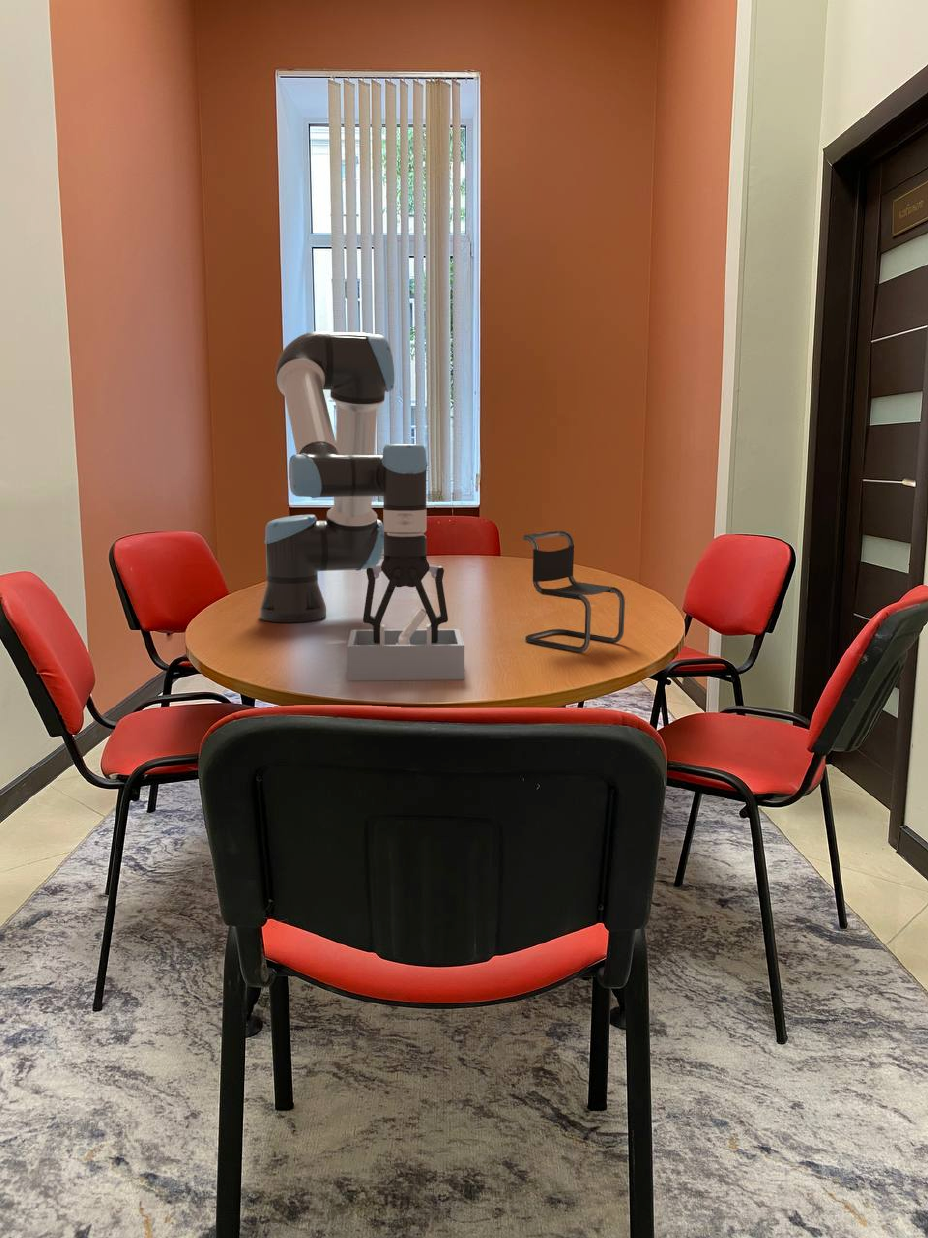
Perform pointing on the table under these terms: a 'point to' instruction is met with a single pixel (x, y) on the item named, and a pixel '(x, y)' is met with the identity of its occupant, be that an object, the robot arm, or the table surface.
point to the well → (405, 656)
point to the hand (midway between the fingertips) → (405, 660)
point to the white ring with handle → (411, 628)
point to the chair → (567, 590)
